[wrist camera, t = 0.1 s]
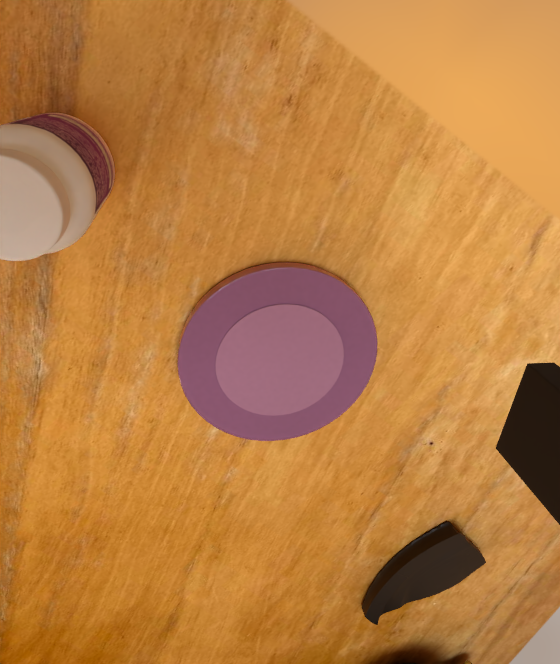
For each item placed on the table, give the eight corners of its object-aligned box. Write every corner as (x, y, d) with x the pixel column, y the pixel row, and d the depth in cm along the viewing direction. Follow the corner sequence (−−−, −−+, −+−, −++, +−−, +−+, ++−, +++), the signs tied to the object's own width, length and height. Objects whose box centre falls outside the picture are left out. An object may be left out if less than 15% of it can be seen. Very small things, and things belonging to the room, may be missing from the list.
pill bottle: (25, 91, 24) (-62, 100, 16) (129, 141, 26) (101, 173, 17) (-2, 190, 26) (-92, 245, 17) (97, 230, 28) (59, 297, 19)
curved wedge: (336, 587, 48) (341, 602, 47) (451, 516, 46) (459, 530, 44) (377, 618, 52) (382, 633, 51) (484, 554, 50) (492, 568, 48)
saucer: (177, 257, 29) (177, 263, 28) (390, 265, 32) (396, 271, 31) (177, 435, 36) (177, 445, 35) (355, 429, 38) (359, 438, 37)
